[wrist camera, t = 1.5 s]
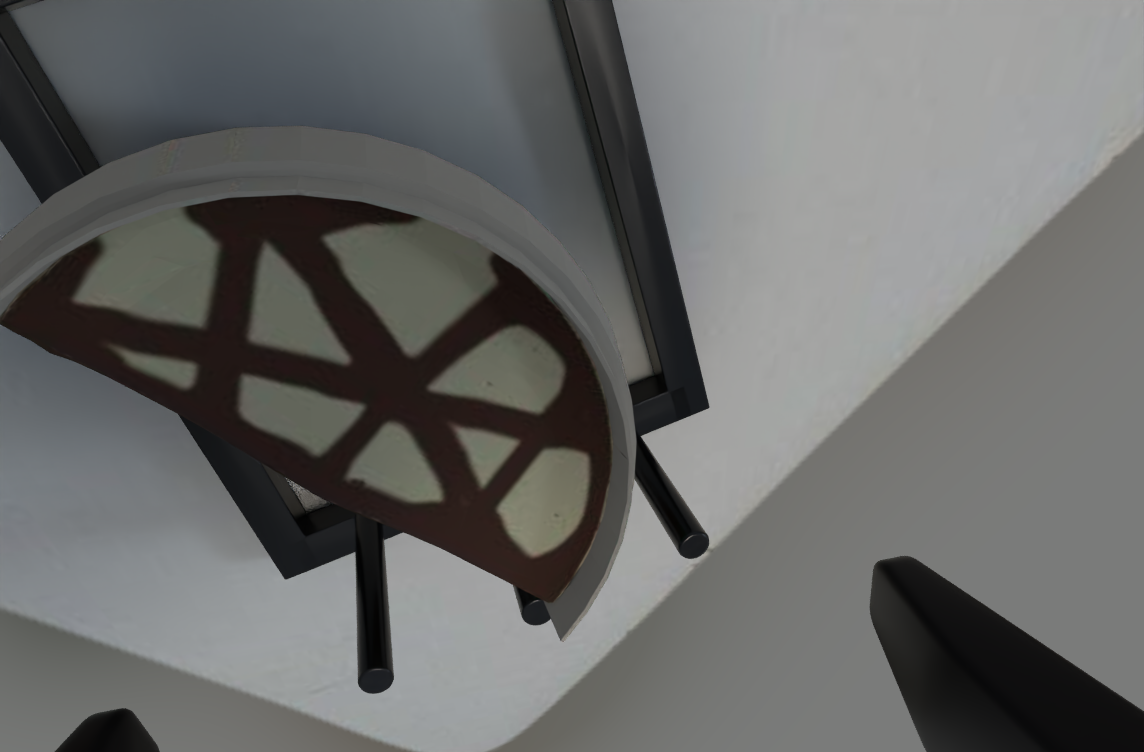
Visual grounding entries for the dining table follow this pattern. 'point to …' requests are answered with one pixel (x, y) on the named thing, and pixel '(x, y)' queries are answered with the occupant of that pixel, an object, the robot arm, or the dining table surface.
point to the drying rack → (598, 64)
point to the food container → (352, 337)
